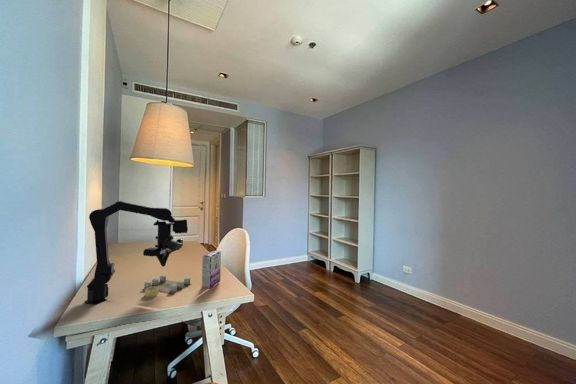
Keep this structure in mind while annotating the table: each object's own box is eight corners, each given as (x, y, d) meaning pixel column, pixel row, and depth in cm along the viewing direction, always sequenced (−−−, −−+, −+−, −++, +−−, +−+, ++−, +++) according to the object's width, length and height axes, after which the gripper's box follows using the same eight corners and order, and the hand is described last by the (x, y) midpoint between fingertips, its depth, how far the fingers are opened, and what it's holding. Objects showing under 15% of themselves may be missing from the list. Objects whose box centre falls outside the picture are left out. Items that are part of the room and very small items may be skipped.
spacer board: (162, 302, 102) (162, 293, 102) (129, 296, 106) (129, 288, 106) (192, 285, 121) (192, 277, 121) (163, 281, 125) (163, 274, 125)
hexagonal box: (152, 298, 103) (152, 291, 103) (141, 296, 105) (141, 290, 105) (161, 293, 108) (161, 287, 108) (150, 292, 110) (151, 285, 110)
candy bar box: (212, 280, 129) (212, 250, 129) (220, 281, 128) (221, 251, 128) (201, 288, 118) (202, 255, 118) (210, 289, 117) (211, 256, 117)
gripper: (163, 238, 103) (162, 274, 103) (191, 232, 121) (190, 262, 121) (142, 237, 105) (141, 271, 105) (172, 231, 124) (171, 260, 123)
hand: (163, 266), depth 114 cm, fingers closed
